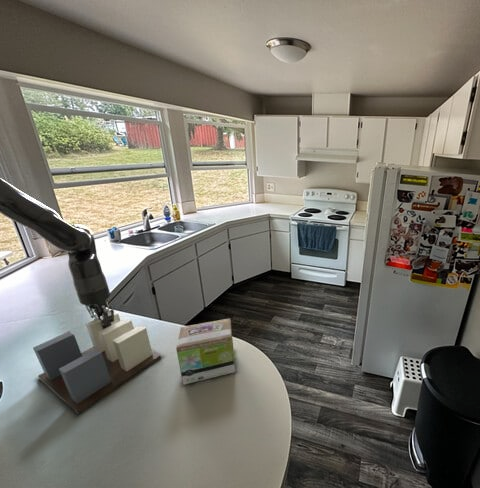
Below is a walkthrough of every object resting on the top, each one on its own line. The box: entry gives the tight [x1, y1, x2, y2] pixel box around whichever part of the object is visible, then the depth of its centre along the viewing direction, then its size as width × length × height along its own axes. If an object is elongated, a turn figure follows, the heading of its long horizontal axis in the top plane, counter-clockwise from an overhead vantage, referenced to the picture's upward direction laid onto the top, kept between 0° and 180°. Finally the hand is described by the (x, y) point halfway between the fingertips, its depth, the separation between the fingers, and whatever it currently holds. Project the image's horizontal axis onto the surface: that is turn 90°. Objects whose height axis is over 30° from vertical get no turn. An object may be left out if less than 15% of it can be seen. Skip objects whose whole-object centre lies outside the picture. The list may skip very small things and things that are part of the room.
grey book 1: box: [32, 331, 82, 380], centre depth 76 cm, size 8×3×11 cm, turn 154°
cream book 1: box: [85, 311, 121, 352], centre depth 86 cm, size 8×3×11 cm, turn 154°
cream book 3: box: [112, 325, 153, 372], centre depth 80 cm, size 8×3×11 cm, turn 154°
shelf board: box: [37, 346, 162, 415], centre depth 80 cm, size 22×24×1 cm
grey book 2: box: [59, 349, 111, 404], centre depth 70 cm, size 8×3×11 cm, turn 154°
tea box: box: [175, 318, 236, 386], centre depth 79 cm, size 15×10×15 cm, turn 111°
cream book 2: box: [99, 317, 135, 362], centre depth 83 cm, size 8×3×11 cm, turn 154°
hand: (106, 330), depth 86 cm, fingers closed on cream book 1, 3 cm apart
